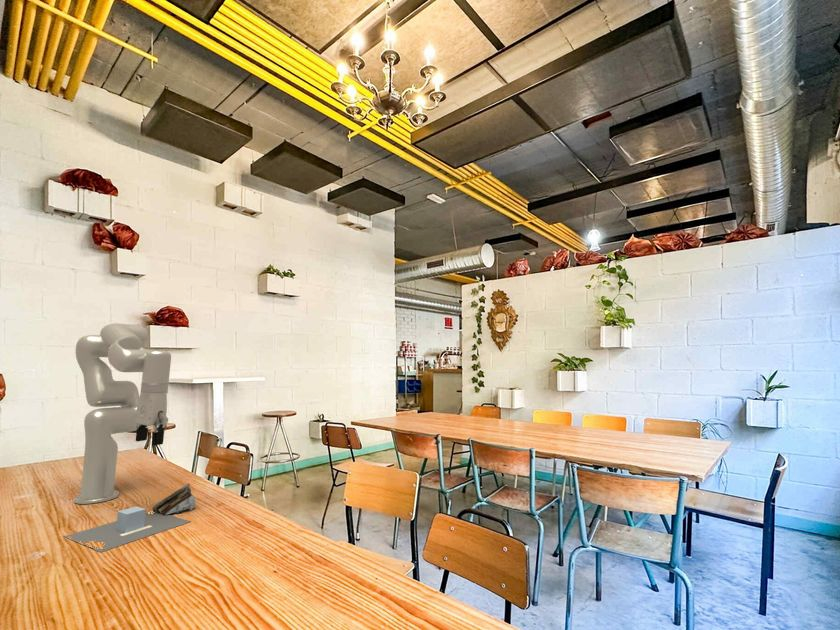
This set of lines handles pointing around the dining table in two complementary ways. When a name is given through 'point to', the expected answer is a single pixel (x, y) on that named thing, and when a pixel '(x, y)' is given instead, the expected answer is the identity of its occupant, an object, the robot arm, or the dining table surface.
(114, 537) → the letter mat
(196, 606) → the dining table surface
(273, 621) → the dining table surface
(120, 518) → the cube
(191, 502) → the chocolate cake
